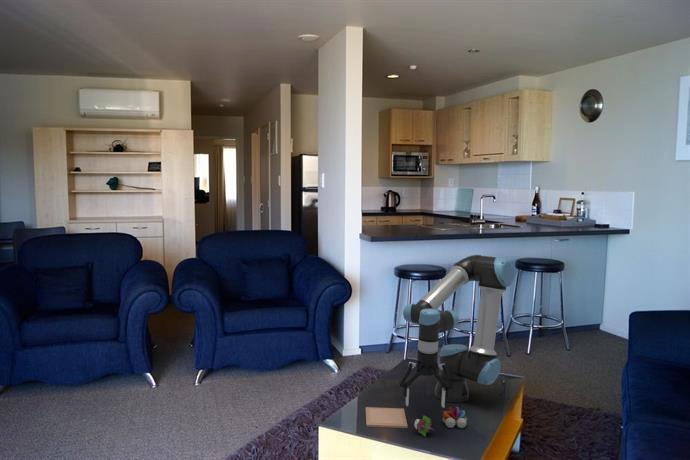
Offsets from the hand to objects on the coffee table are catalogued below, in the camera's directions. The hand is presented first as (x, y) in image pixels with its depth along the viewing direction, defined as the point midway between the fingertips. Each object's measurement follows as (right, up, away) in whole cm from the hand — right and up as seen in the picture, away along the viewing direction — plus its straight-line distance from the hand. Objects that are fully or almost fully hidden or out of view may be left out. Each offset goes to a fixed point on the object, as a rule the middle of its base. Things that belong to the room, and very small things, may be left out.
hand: (424, 405), depth 202 cm
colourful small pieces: (+13, -11, +10) cm, 20 cm away
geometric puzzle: (0, -11, +1) cm, 12 cm away
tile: (-14, -10, +14) cm, 22 cm away
